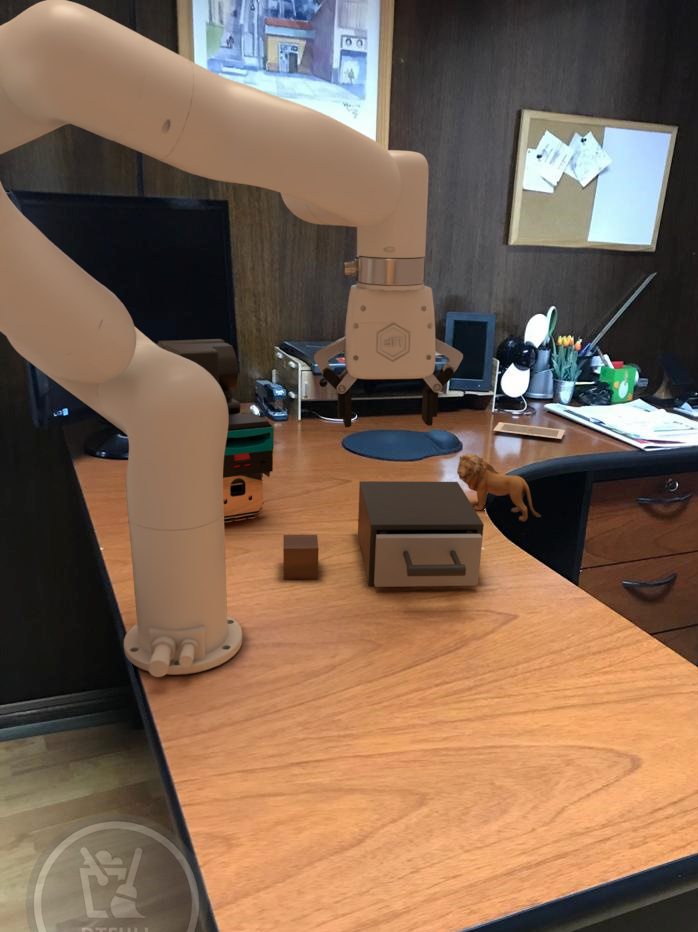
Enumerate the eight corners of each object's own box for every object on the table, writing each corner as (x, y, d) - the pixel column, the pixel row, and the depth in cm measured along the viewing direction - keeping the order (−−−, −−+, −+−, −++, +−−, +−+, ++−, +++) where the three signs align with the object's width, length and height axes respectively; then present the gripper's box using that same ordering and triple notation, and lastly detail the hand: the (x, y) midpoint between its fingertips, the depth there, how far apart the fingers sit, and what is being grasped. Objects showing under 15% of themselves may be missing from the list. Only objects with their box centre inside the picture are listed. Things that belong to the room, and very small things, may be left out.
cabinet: (478, 584, 102) (483, 524, 99) (368, 585, 100) (370, 524, 97) (453, 534, 118) (457, 481, 114) (357, 535, 116) (359, 481, 113)
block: (318, 579, 102) (318, 548, 100) (283, 579, 101) (283, 548, 99) (316, 564, 106) (317, 534, 104) (283, 564, 105) (283, 534, 104)
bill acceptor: (213, 535, 113) (207, 365, 104) (162, 488, 131) (152, 339, 122) (278, 523, 119) (277, 360, 110) (220, 479, 136) (215, 336, 127)
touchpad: (498, 426, 179) (499, 417, 178) (564, 434, 175) (565, 425, 174) (492, 435, 172) (493, 425, 171) (560, 443, 168) (562, 433, 167)
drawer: (488, 606, 95) (493, 556, 92) (379, 608, 93) (382, 557, 90) (454, 538, 114) (457, 494, 112) (363, 538, 112) (365, 494, 110)
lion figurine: (449, 508, 128) (453, 456, 125) (460, 498, 133) (464, 448, 129) (536, 525, 123) (543, 471, 119) (544, 514, 127) (551, 462, 124)
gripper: (314, 276, 81) (316, 434, 87) (475, 277, 83) (465, 431, 90) (310, 270, 88) (312, 416, 94) (459, 271, 90) (451, 414, 97)
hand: (387, 423), depth 92 cm, fingers open, 9 cm apart
